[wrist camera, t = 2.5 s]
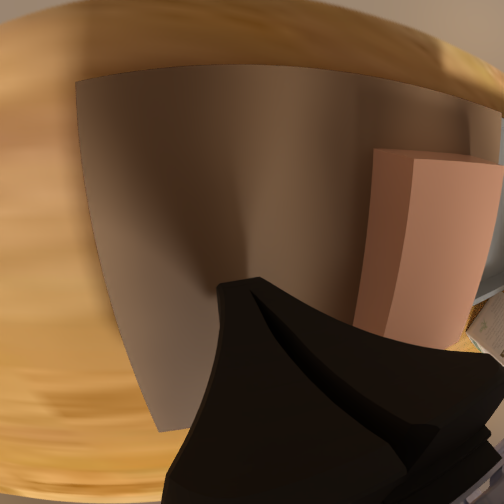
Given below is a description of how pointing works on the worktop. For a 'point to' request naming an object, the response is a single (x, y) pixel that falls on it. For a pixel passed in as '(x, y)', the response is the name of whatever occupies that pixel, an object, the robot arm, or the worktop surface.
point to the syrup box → (490, 328)
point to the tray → (494, 248)
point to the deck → (241, 196)
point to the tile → (426, 244)
